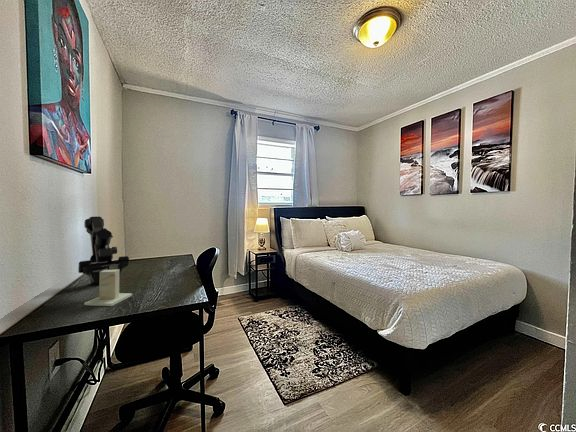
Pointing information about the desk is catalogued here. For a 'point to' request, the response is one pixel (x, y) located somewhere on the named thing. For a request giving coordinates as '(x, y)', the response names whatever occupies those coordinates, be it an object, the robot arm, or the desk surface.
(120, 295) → the sage tile
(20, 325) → the desk surface
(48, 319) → the desk surface
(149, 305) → the desk surface
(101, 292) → the skincare box
